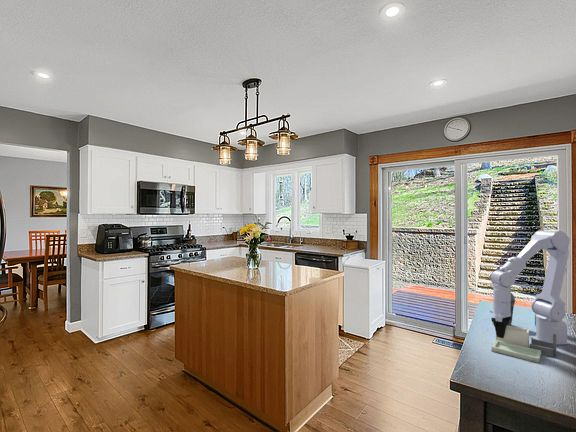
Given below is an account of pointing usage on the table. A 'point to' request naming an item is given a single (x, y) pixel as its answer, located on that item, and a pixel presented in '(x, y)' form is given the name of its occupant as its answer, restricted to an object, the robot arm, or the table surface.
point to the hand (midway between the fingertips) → (501, 335)
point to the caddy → (515, 336)
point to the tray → (517, 351)
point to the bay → (545, 345)
